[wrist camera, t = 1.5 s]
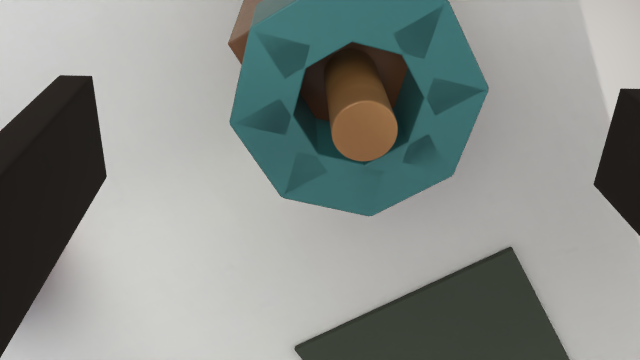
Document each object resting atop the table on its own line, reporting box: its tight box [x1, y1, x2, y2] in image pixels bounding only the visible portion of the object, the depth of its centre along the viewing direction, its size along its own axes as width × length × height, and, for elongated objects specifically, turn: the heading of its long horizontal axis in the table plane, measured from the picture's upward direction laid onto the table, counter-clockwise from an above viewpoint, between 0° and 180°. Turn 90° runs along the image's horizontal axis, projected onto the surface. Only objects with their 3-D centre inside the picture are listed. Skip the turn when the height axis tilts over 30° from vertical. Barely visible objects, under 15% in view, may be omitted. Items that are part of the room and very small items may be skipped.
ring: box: [230, 0, 488, 216], centre depth 26 cm, size 10×10×4 cm
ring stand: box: [228, 0, 408, 161], centre depth 29 cm, size 8×8×16 cm
